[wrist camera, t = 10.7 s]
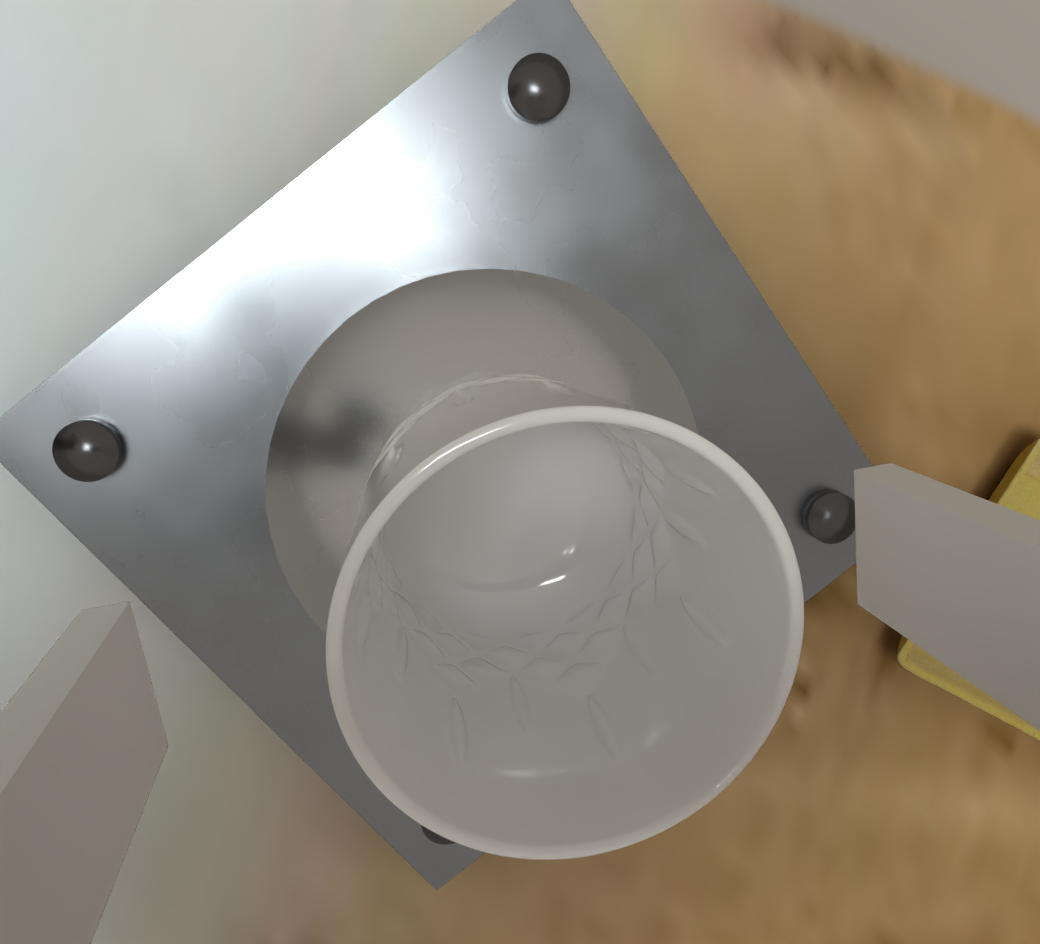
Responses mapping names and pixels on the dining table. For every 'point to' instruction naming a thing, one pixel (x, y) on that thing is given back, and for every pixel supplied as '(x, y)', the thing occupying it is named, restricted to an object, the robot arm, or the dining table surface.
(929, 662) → the yellow square tray
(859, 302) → the dining table surface
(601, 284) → the panel
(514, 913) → the dining table surface
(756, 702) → the white cup
